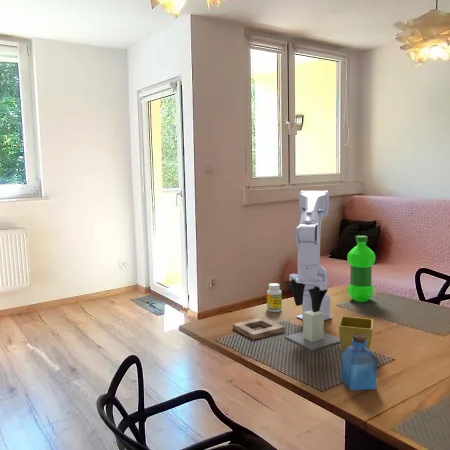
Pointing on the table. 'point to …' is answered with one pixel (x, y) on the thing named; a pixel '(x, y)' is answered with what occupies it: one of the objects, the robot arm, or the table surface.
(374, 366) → the perfume bottle
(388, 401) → the table surface
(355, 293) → the plastic bottle
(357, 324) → the flower pot
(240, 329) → the wooden square frame
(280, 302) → the supplement bottle
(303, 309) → the robot arm
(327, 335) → the charcoal mat
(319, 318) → the sage link block
